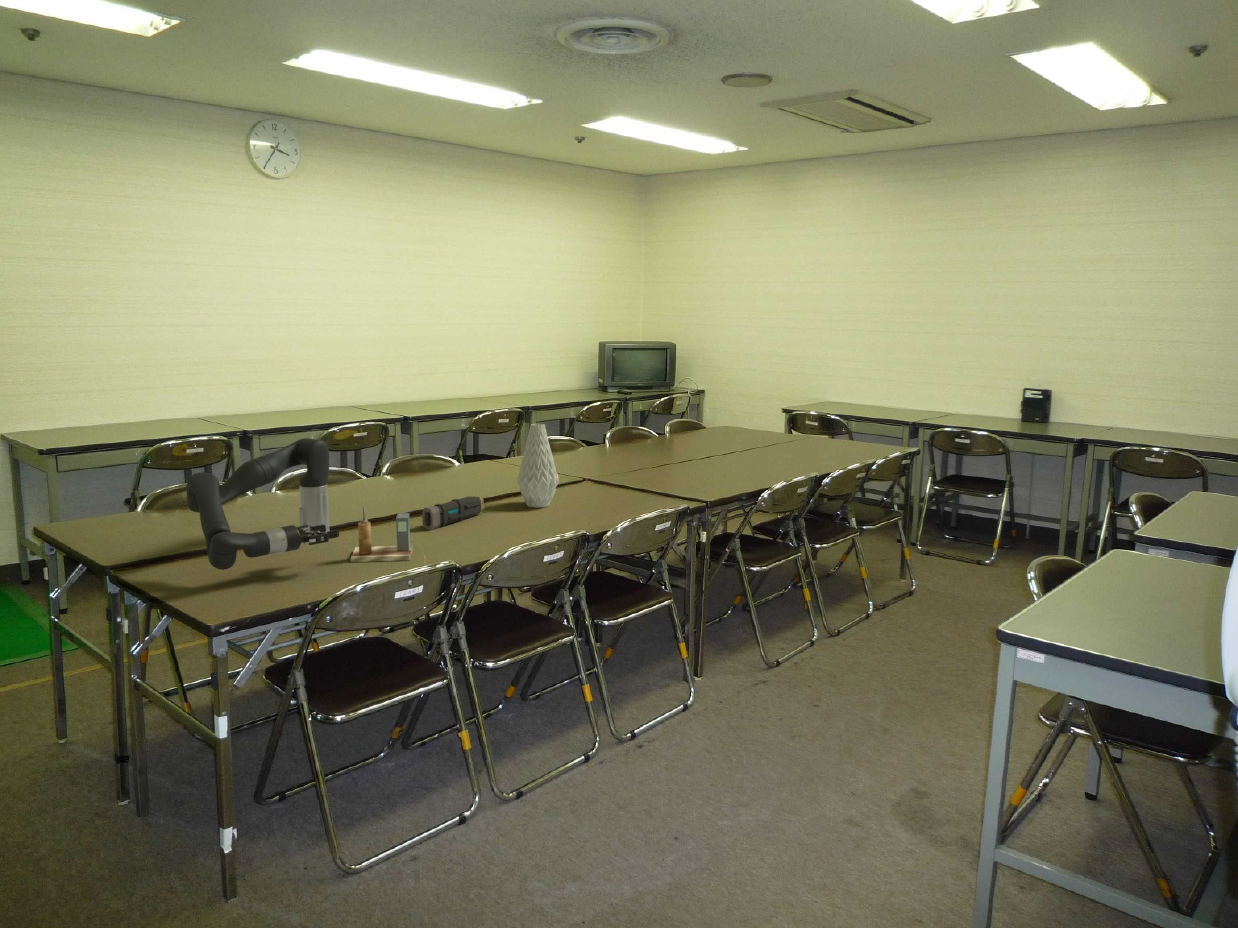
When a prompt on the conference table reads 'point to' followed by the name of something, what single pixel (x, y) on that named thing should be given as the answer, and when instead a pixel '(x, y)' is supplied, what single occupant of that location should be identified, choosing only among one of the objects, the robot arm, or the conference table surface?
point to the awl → (364, 536)
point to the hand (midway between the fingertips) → (331, 530)
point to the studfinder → (403, 531)
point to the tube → (451, 512)
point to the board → (382, 554)
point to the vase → (537, 469)
